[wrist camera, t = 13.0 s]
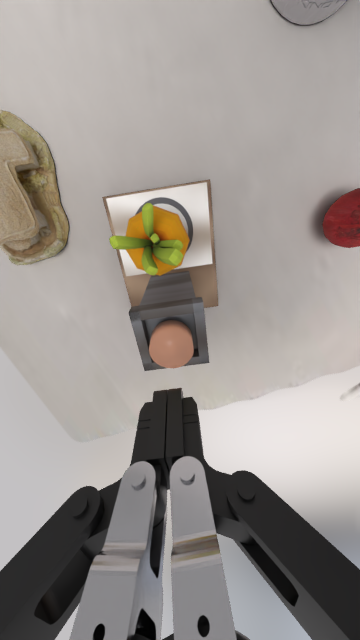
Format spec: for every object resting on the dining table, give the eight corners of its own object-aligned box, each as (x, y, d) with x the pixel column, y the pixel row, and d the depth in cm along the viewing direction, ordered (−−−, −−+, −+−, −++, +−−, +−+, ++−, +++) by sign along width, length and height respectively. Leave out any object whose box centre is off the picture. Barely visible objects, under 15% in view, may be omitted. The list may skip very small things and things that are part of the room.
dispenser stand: (105, 198, 24) (38, 180, 12) (208, 181, 24) (243, 145, 12) (135, 314, 31) (111, 376, 19) (216, 302, 30) (244, 359, 18)
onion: (314, 251, 28) (363, 264, 20) (304, 208, 25) (355, 204, 18) (360, 228, 26) (429, 233, 19) (354, 181, 24) (430, 166, 17)
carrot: (133, 234, 25) (84, 259, 11) (159, 197, 23) (138, 175, 10) (166, 262, 26) (157, 313, 13) (193, 229, 24) (215, 248, 11)
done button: (147, 323, 17) (144, 334, 15) (189, 317, 17) (190, 328, 15) (155, 357, 18) (153, 370, 17) (194, 352, 18) (195, 365, 17)
